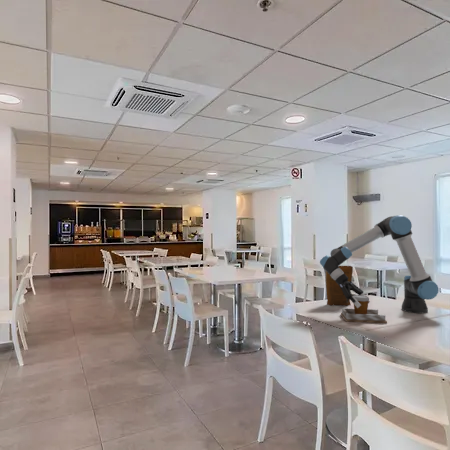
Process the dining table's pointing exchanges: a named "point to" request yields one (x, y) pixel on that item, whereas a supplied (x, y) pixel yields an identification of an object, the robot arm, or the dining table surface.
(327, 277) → the pancake mix bag
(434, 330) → the dining table surface
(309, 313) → the dining table surface
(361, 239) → the robot arm
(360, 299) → the disposable coffee cup
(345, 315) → the rail board
